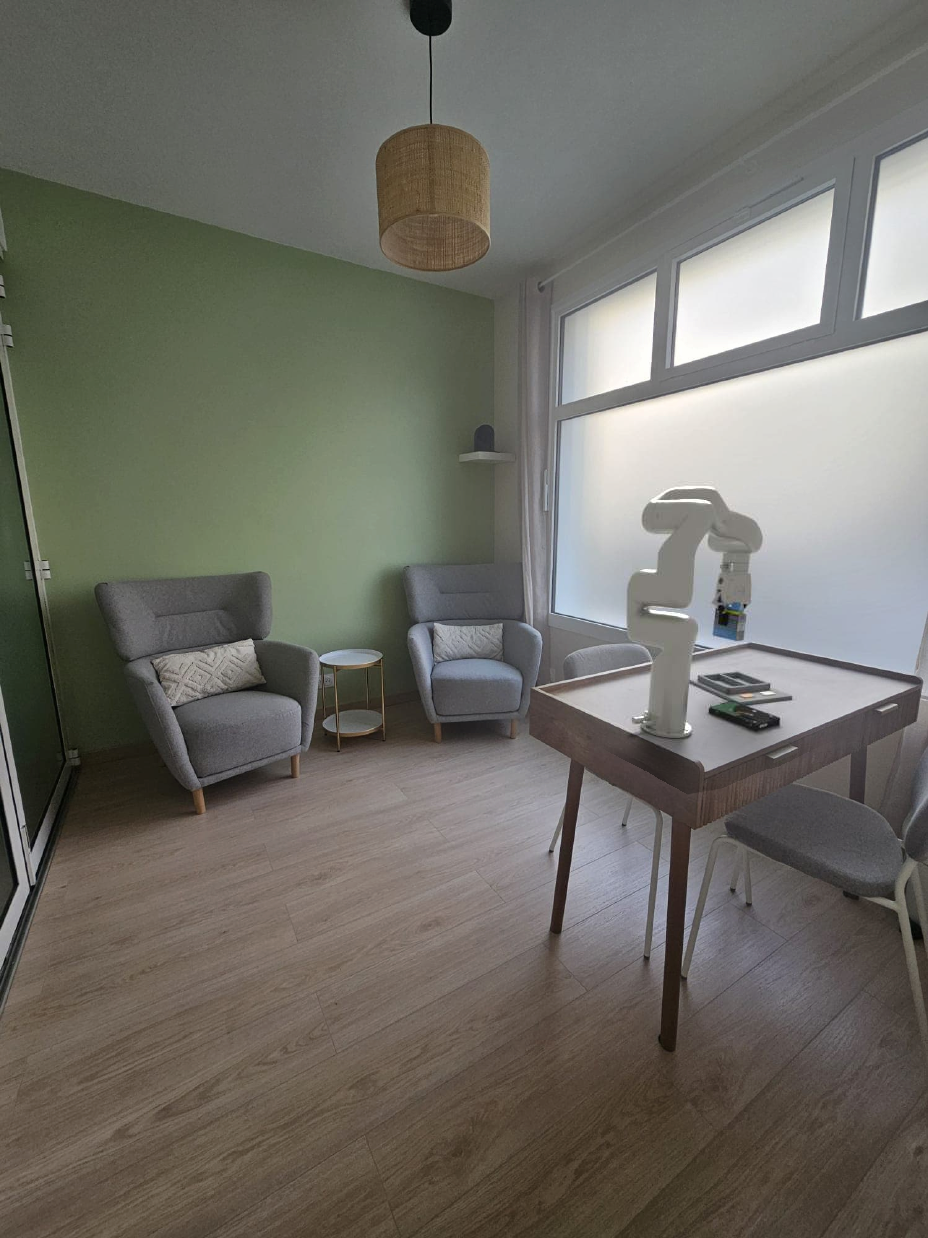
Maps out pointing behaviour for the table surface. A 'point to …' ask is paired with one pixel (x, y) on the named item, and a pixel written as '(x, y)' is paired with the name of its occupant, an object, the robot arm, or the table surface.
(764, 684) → the grey compartment tray
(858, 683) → the table surface
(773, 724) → the disk drive
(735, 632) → the label tape box
